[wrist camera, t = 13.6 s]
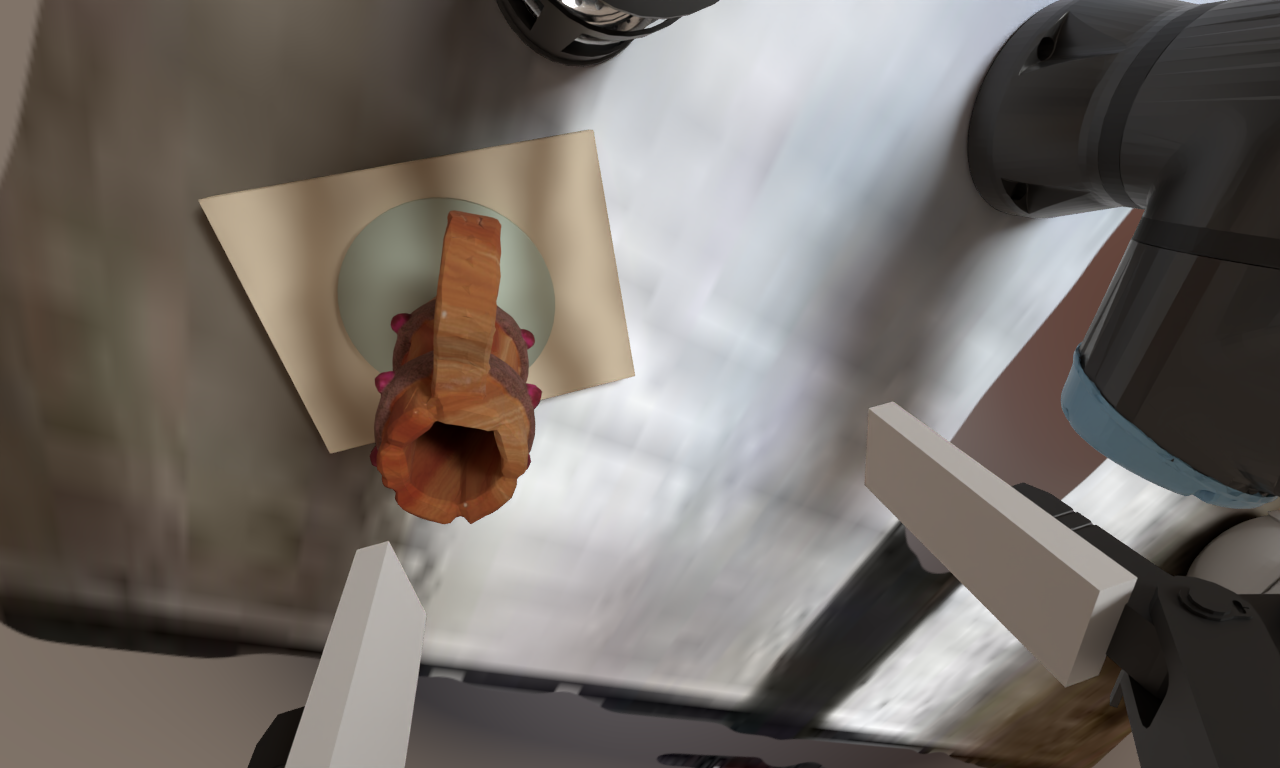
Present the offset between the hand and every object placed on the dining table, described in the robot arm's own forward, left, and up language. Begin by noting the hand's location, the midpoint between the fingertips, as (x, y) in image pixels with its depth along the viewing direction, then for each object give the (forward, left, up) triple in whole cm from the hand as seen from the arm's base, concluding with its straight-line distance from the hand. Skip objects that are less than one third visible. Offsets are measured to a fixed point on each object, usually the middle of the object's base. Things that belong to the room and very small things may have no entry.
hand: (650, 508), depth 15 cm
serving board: (+6, 0, -26) cm, 27 cm away
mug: (+6, +1, -24) cm, 25 cm away
